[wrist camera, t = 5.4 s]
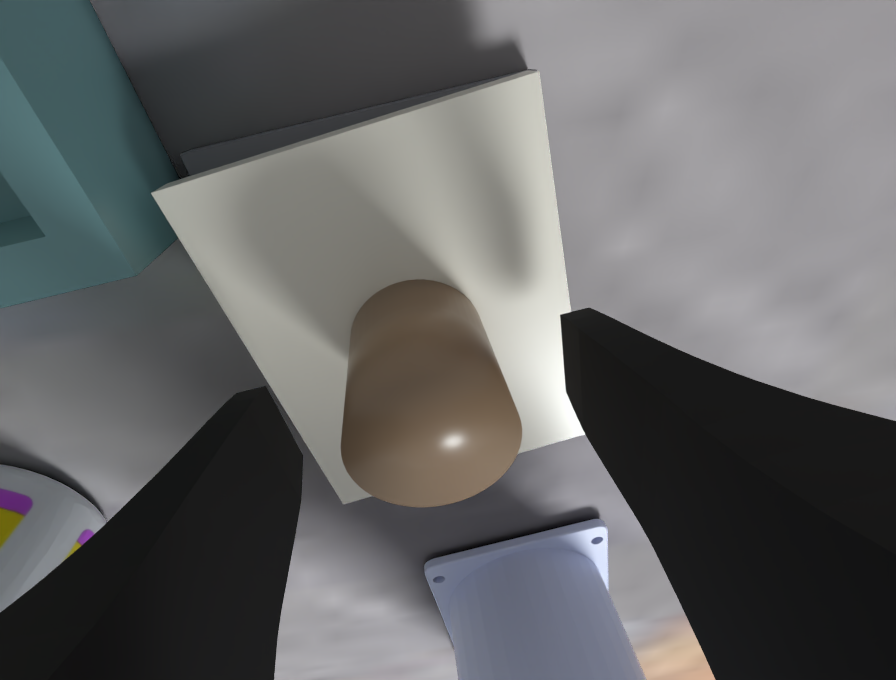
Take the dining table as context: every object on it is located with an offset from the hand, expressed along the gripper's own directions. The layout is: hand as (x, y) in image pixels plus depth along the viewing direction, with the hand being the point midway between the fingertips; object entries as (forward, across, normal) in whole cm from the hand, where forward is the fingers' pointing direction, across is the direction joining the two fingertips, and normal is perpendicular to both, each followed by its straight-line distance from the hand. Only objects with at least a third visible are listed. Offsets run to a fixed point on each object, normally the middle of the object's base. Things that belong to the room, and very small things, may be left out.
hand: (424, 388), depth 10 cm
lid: (+4, 0, 0) cm, 4 cm away
